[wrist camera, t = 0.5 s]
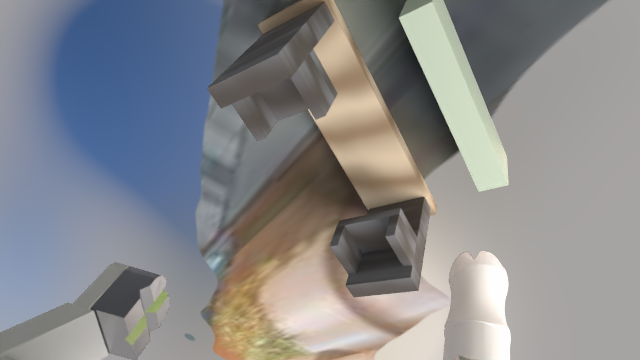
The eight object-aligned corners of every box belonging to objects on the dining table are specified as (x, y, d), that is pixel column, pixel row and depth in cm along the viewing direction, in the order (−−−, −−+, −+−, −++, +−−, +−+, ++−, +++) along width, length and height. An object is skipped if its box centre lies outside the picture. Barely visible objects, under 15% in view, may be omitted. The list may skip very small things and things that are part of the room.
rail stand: (263, 20, 46) (197, 78, 36) (326, -15, 42) (273, 40, 32) (379, 218, 59) (356, 303, 48) (436, 206, 55) (424, 296, 44)
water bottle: (479, 287, 62) (474, 488, 43) (439, 260, 60) (417, 454, 42) (519, 265, 57) (534, 480, 38) (477, 236, 56) (471, 442, 37)
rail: (406, -1, 41) (398, 17, 37) (437, -16, 39) (432, 1, 36) (479, 164, 49) (478, 191, 46) (507, 156, 48) (508, 184, 44)
